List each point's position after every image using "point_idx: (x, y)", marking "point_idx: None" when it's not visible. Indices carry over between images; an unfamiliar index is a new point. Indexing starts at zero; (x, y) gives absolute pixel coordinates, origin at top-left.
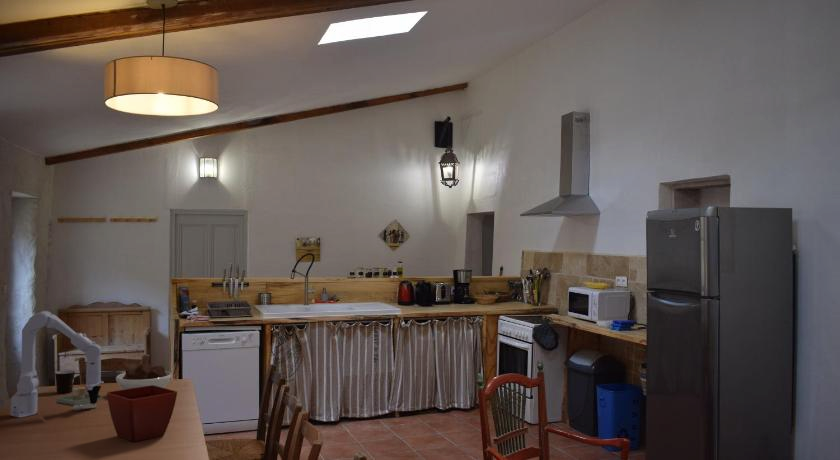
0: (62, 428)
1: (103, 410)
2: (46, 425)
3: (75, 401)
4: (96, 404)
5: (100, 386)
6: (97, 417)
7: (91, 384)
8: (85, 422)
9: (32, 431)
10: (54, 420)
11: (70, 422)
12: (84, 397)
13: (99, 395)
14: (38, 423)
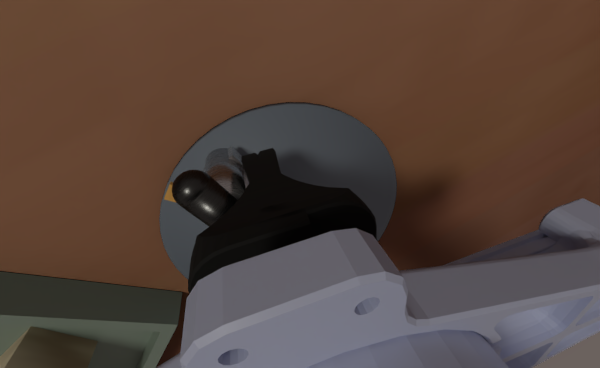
0: (594, 110)
1: (233, 67)
2: (509, 202)
3: (174, 324)
4: (222, 156)
5: (257, 243)
6: (451, 11)
7: (575, 323)
8: (545, 41)
9: (567, 198)
10: (441, 220)
11: (505, 132)
12: (16, 358)
13: (191, 183)
14: (467, 244)
